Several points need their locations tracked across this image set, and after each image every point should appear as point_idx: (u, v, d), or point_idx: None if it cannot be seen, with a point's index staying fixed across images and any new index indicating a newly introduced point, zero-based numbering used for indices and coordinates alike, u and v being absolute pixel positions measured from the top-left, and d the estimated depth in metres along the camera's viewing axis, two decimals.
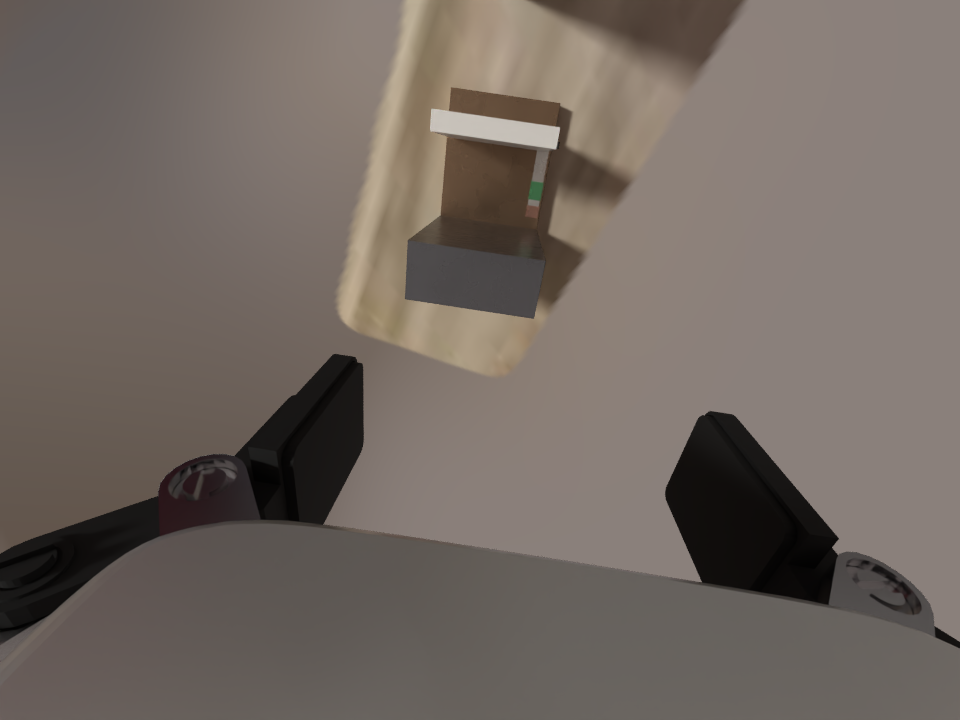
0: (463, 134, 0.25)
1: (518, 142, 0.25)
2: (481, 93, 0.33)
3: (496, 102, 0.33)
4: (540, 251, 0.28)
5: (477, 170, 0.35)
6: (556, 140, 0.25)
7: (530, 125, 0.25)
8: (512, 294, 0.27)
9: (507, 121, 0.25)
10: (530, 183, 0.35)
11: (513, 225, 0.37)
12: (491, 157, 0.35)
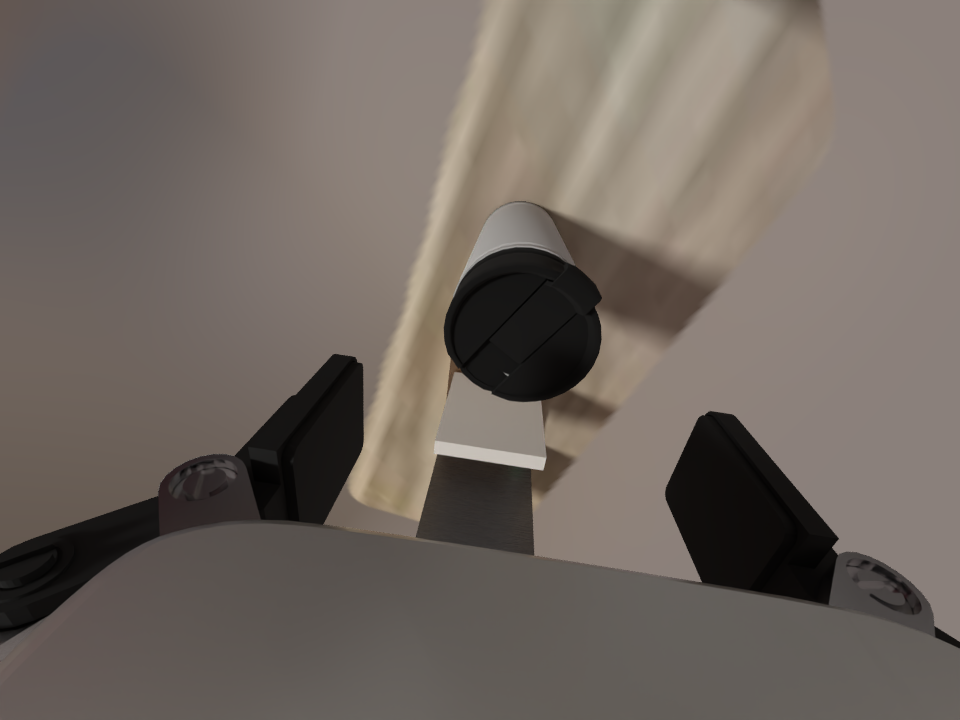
0: (462, 457, 0.29)
1: (510, 464, 0.29)
2: None
3: None
4: (530, 527, 0.32)
5: None
6: (543, 465, 0.29)
7: (520, 455, 0.28)
8: None
9: (500, 451, 0.28)
10: None
11: None
12: None
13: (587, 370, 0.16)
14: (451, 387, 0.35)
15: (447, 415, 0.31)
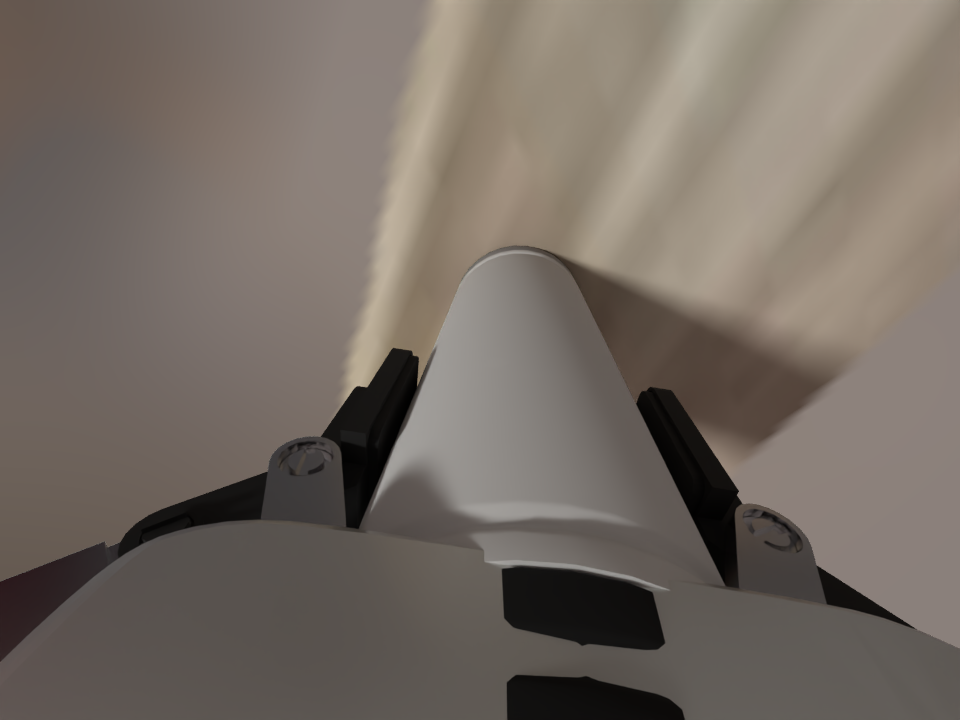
0: None
1: None
2: None
3: None
4: None
5: None
6: None
7: None
8: None
9: None
10: None
11: None
12: None
13: None
14: None
15: None
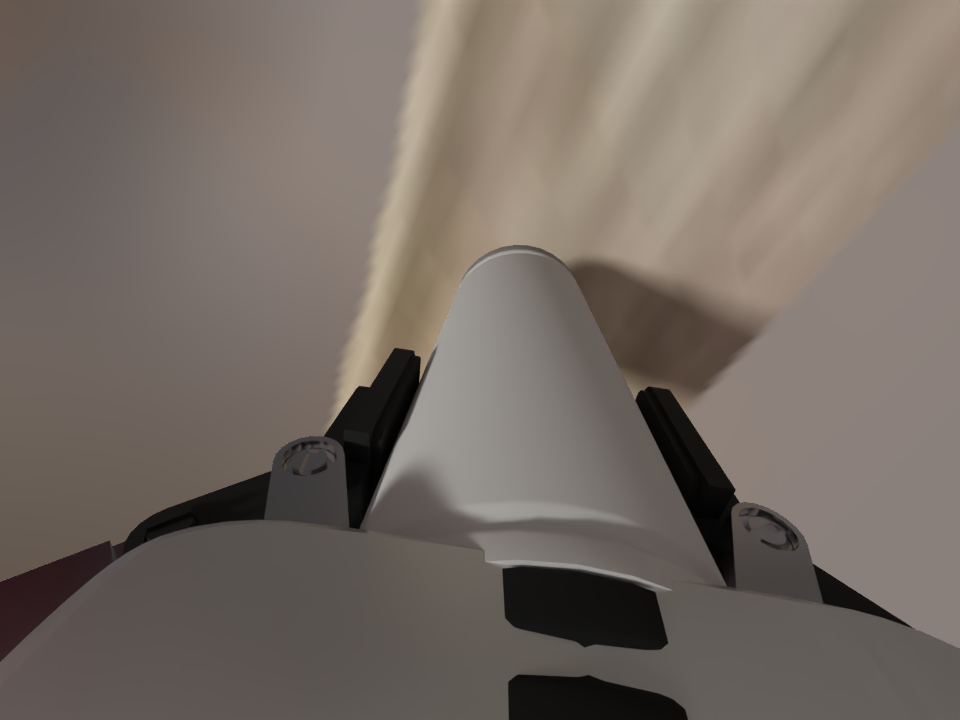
0: None
1: None
2: None
3: None
4: None
5: None
6: None
7: None
8: None
9: None
10: None
11: None
12: None
13: None
14: None
15: None
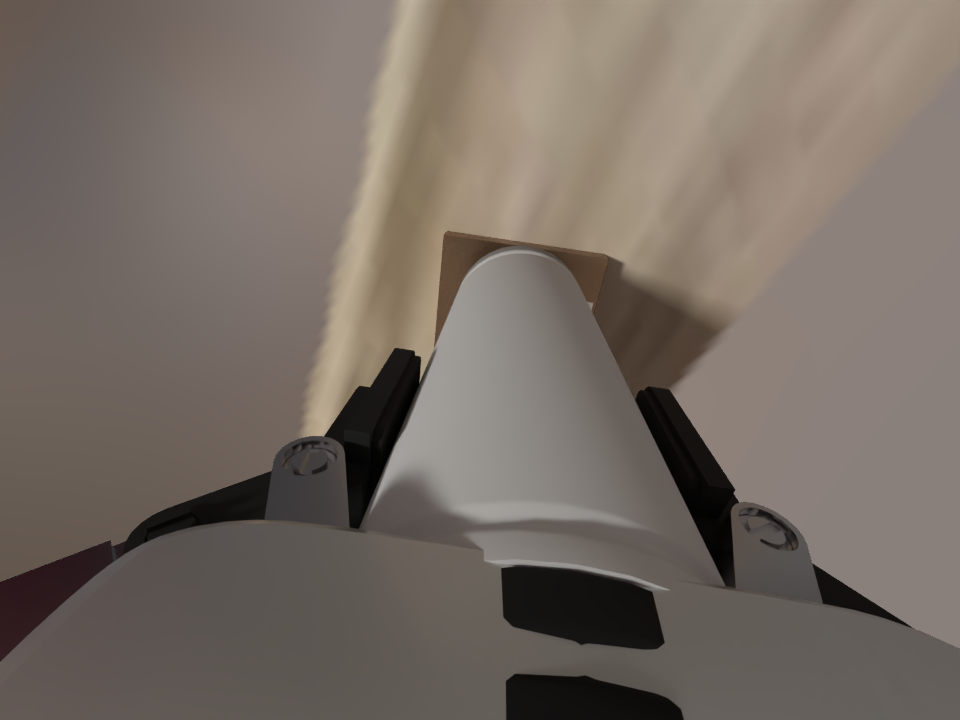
0: None
1: None
2: (489, 243, 0.22)
3: None
4: None
5: None
6: None
7: None
8: None
9: None
10: None
11: None
12: None
13: None
14: None
15: None
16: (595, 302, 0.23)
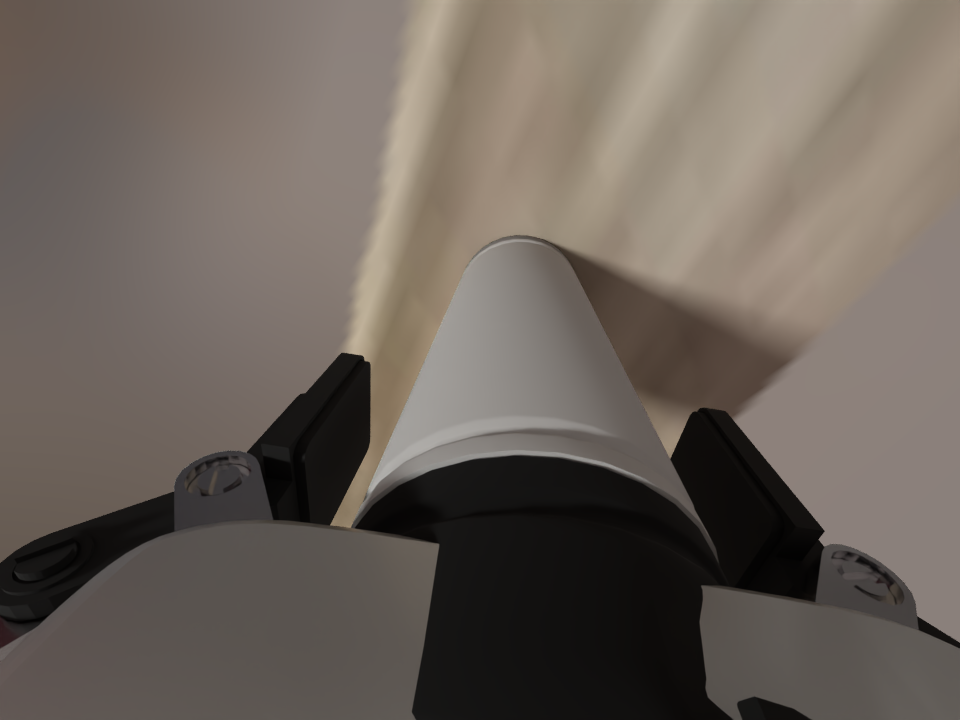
0: None
1: None
2: None
3: None
4: None
5: None
6: None
7: None
8: None
9: None
10: None
11: None
12: None
13: None
14: None
15: None
16: None
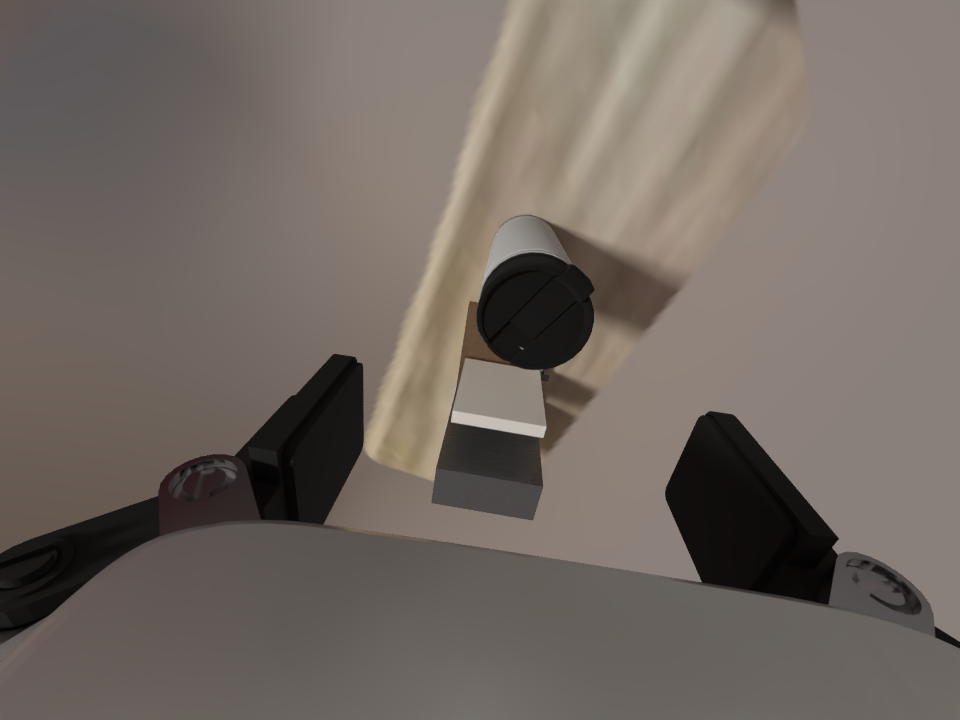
0: (475, 425, 0.34)
1: (515, 432, 0.34)
2: None
3: None
4: (539, 463, 0.36)
5: (488, 360, 0.43)
6: (543, 433, 0.34)
7: (524, 424, 0.34)
8: (516, 505, 0.34)
9: (508, 421, 0.34)
10: None
11: None
12: None
13: (583, 344, 0.21)
14: (463, 370, 0.40)
15: (461, 392, 0.36)
16: None
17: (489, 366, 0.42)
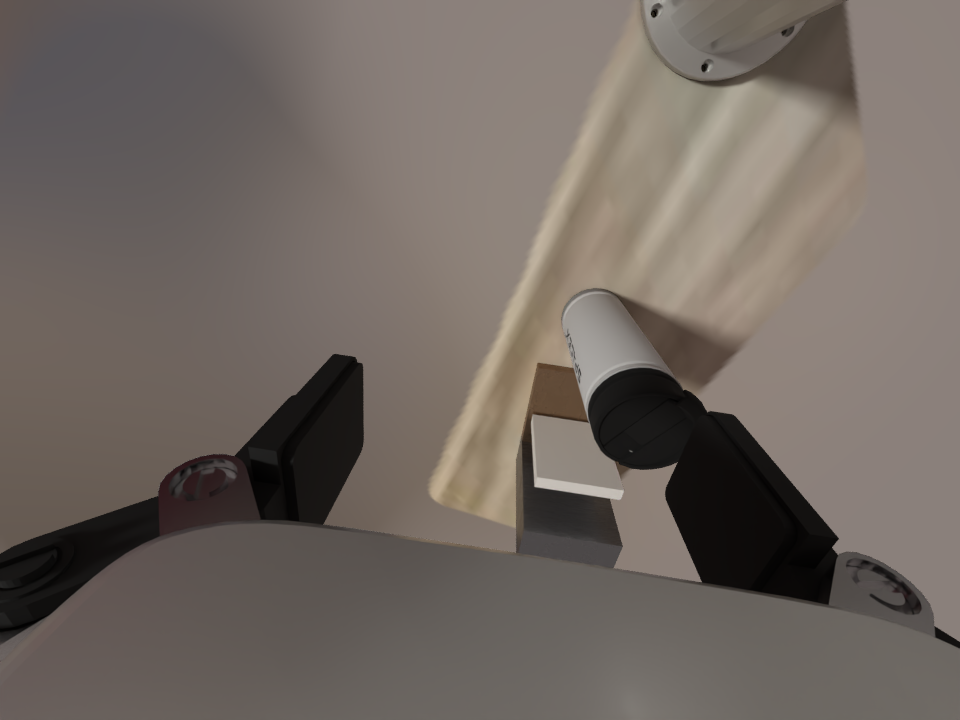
0: (557, 489, 0.37)
1: (594, 495, 0.37)
2: (561, 372, 0.43)
3: (572, 378, 0.43)
4: (613, 520, 0.39)
5: (553, 416, 0.46)
6: (621, 496, 0.37)
7: (604, 488, 0.36)
8: (596, 561, 0.37)
9: (588, 485, 0.36)
10: None
11: None
12: (565, 408, 0.45)
13: None
14: (534, 429, 0.43)
15: (539, 455, 0.39)
16: None
17: (556, 423, 0.44)
